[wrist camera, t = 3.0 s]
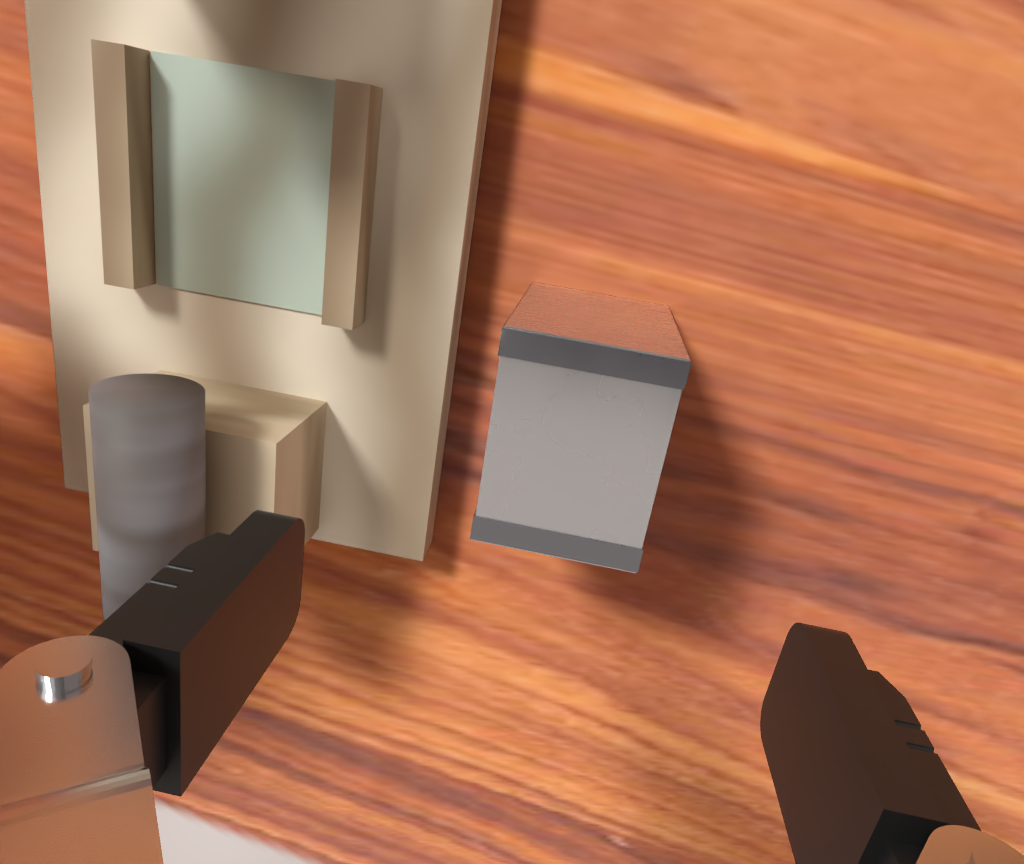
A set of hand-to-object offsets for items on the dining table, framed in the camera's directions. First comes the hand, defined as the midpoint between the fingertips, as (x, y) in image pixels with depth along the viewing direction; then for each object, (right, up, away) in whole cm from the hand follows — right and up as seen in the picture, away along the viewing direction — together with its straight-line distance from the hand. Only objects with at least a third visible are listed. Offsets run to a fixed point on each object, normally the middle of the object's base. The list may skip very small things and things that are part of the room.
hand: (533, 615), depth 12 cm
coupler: (+2, +5, +13) cm, 14 cm away
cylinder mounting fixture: (-9, +11, +12) cm, 19 cm away
